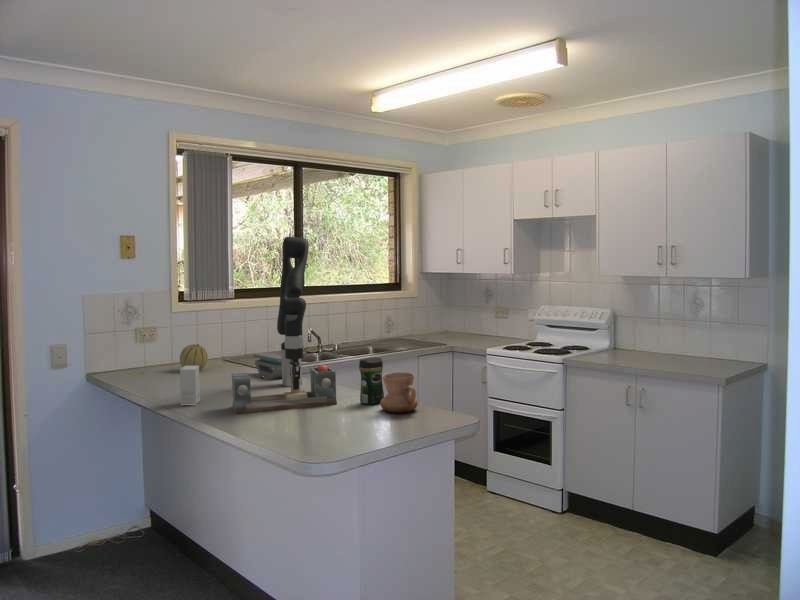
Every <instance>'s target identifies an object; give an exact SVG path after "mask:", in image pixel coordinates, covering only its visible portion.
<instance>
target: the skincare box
mask: <svg viewBox="0 0 800 600" xmlns="http://www.w3.org/2000/svg"><path fill="white" fill-rule="evenodd" d="M179 382H180V383H179V384H180V386H179V387H180V388H179V389H180V391H179V392H180V405H181V404H196V403H198V402H199V401H200V402H201V392H200V390H201V388H200V386H201V385H200V370H199V365H198V366H184V367H181V368H180V369H179ZM200 402H199V403H200ZM199 403H198V404H199Z"/></svg>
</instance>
